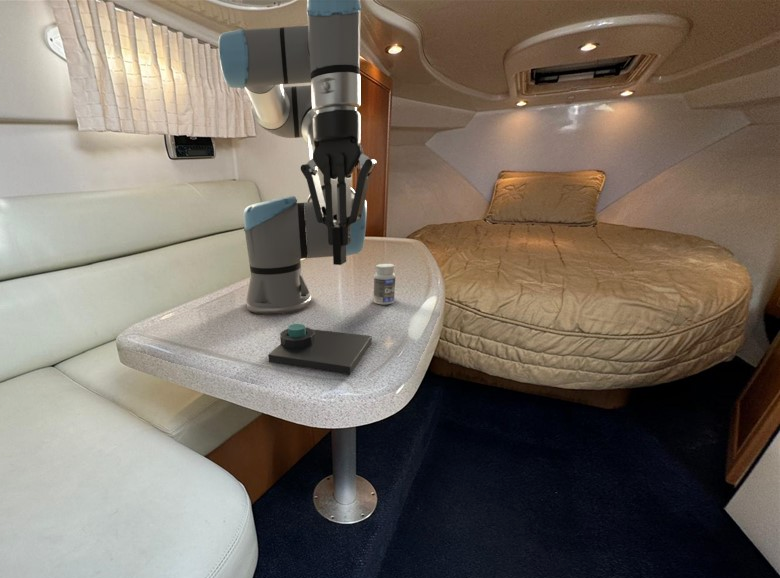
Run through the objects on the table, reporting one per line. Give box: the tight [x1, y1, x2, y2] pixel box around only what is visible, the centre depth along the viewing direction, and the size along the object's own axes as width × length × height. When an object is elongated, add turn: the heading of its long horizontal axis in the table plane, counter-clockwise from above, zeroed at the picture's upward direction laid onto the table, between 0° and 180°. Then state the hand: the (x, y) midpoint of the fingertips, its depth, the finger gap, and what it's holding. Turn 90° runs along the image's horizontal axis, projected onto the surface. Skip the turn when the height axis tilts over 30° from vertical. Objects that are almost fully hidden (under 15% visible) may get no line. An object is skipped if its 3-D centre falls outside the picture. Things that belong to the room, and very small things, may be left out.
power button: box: [287, 323, 306, 338], centre depth 62 cm, size 3×3×2 cm
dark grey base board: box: [267, 326, 373, 376], centre depth 61 cm, size 14×12×3 cm
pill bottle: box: [373, 263, 396, 306], centre depth 82 cm, size 5×5×8 cm
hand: (339, 263), depth 67 cm, fingers closed
